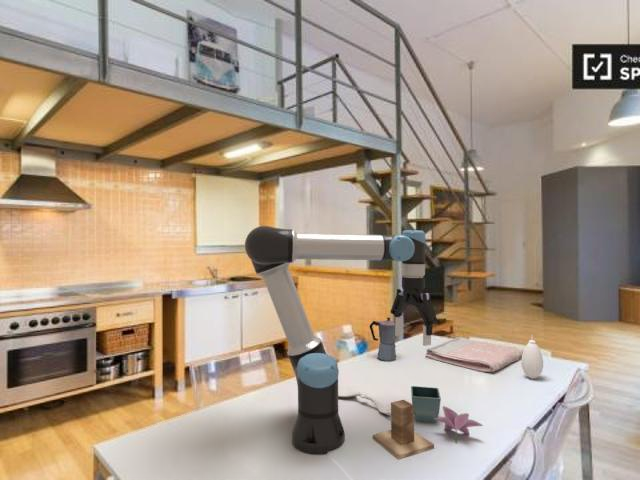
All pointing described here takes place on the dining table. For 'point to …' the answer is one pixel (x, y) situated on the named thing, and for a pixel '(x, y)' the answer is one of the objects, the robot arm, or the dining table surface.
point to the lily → (457, 421)
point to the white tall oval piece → (532, 360)
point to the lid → (402, 432)
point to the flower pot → (425, 403)
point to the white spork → (348, 392)
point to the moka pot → (385, 339)
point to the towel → (474, 354)
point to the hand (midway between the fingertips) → (412, 340)
